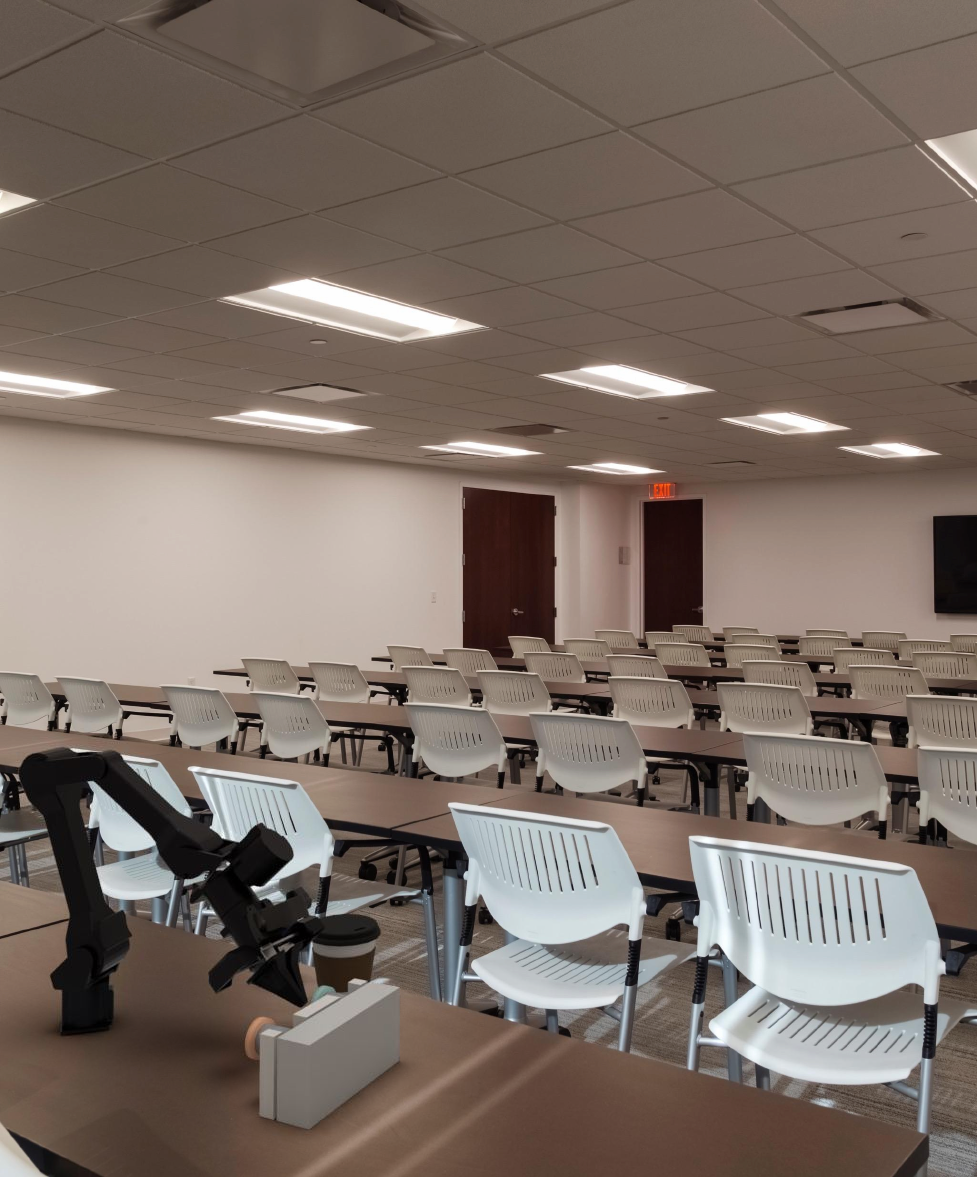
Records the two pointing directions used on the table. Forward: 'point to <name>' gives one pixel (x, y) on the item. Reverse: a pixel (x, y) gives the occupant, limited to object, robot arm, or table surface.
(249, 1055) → the terracotta button
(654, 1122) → the table surface
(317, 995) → the teal button
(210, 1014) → the table surface
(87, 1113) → the table surface
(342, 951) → the coffee cup
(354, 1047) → the button panel
